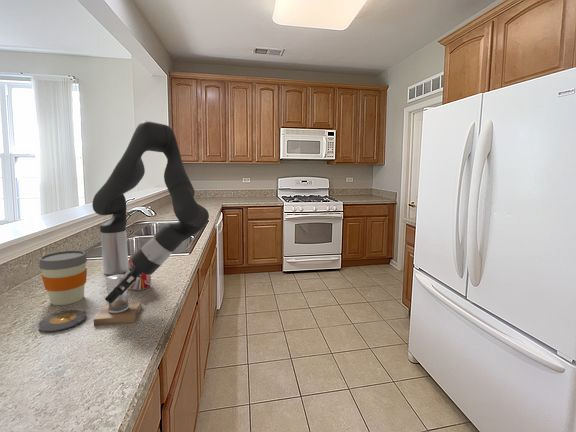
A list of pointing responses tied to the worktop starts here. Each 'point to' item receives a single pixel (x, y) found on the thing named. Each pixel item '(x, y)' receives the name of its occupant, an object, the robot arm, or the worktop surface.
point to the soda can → (143, 281)
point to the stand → (118, 315)
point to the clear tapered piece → (121, 301)
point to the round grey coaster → (62, 321)
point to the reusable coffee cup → (64, 276)
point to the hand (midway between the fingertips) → (112, 294)
